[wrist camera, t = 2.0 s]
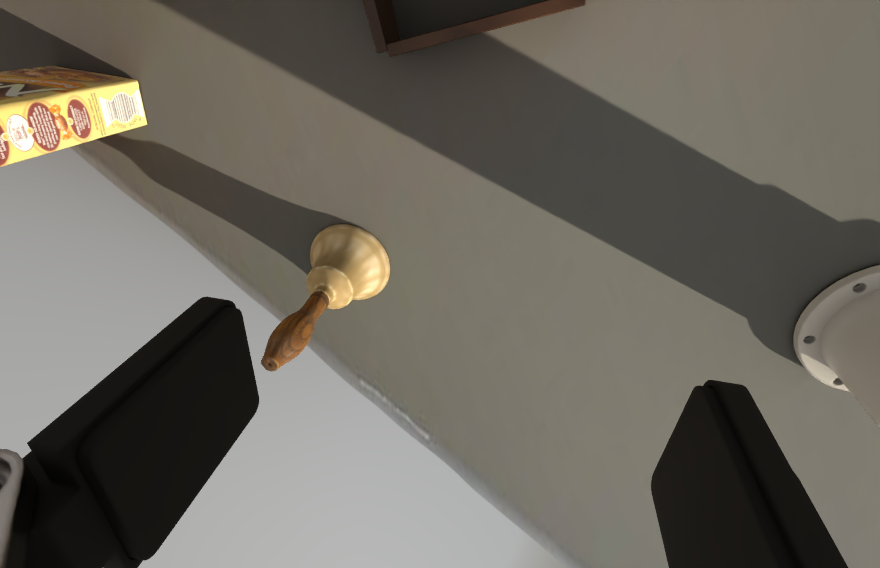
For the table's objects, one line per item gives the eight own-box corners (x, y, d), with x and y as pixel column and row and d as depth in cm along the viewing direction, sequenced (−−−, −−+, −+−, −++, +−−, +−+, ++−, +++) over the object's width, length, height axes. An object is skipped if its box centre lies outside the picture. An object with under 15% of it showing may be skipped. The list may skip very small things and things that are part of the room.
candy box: (139, 78, 40) (-55, 107, 27) (150, 127, 42) (-25, 176, 29) (51, 64, 41) (-177, 86, 28) (66, 113, 43) (-139, 154, 30)
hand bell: (327, 207, 43) (226, 295, 29) (404, 252, 44) (340, 358, 30) (300, 271, 47) (201, 373, 34) (370, 311, 48) (301, 426, 34)
